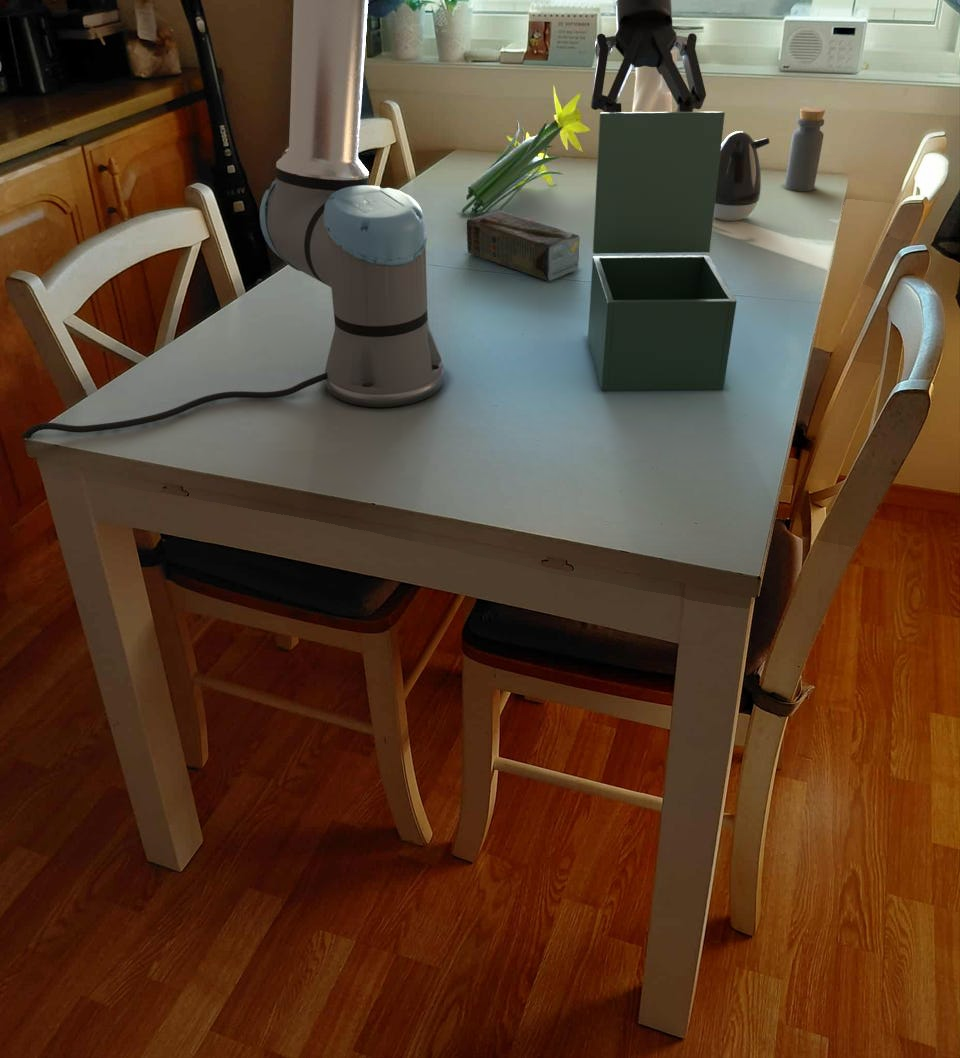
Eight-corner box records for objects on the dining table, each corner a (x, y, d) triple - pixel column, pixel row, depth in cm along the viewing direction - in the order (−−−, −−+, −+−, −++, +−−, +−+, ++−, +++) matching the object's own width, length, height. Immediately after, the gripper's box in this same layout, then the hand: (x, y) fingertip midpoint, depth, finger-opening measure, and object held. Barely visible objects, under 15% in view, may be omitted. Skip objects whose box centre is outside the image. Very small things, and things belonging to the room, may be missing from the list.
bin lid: (724, 112, 122) (723, 111, 123) (600, 113, 122) (599, 112, 123) (709, 252, 131) (708, 251, 132) (593, 253, 131) (592, 252, 132)
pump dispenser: (756, 227, 179) (770, 140, 170) (699, 222, 181) (709, 136, 173) (758, 211, 187) (771, 127, 178) (703, 207, 189) (713, 124, 181)
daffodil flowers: (431, 210, 191) (527, 127, 208) (489, 258, 191) (580, 171, 208) (454, 147, 176) (556, 63, 193) (517, 198, 176) (613, 110, 193)
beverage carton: (547, 283, 156) (548, 242, 152) (464, 255, 167) (463, 216, 163) (580, 270, 160) (582, 230, 157) (497, 244, 172) (497, 206, 168)
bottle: (778, 185, 202) (791, 107, 193) (803, 182, 203) (817, 105, 195) (794, 192, 197) (808, 113, 189) (819, 189, 199) (834, 111, 190)
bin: (723, 389, 125) (736, 301, 118) (601, 390, 124) (607, 302, 118) (697, 337, 138) (708, 255, 132) (587, 338, 138) (592, 256, 131)
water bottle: (676, 180, 205) (692, 32, 189) (659, 191, 199) (674, 38, 183) (631, 173, 209) (643, 28, 193) (613, 183, 203) (624, 34, 187)
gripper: (711, 20, 138) (720, 167, 134) (565, 21, 138) (570, 169, 134) (725, -19, 131) (735, 136, 127) (571, -18, 131) (576, 137, 127)
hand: (650, 152), depth 131 cm, fingers open, 8 cm apart
